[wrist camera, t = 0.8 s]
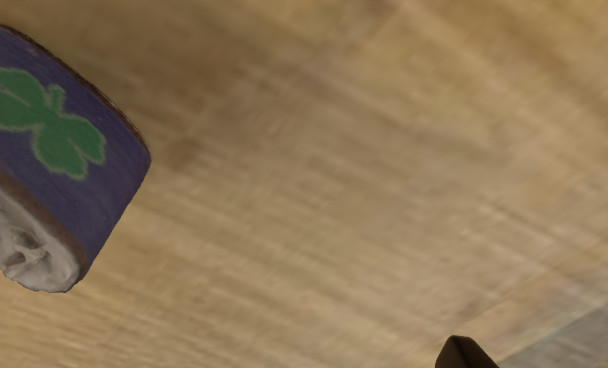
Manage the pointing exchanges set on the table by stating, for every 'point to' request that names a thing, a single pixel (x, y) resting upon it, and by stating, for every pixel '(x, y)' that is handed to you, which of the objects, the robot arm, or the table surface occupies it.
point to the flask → (59, 167)
